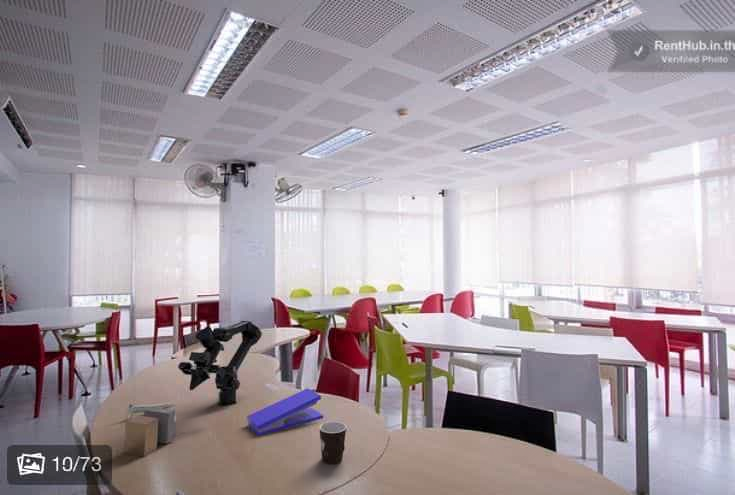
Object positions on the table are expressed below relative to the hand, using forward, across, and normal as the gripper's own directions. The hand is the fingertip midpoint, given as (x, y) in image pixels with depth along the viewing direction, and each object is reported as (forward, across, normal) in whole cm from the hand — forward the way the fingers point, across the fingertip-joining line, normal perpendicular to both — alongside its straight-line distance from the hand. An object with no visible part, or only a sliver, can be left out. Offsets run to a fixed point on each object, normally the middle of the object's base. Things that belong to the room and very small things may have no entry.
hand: (190, 389), depth 145 cm
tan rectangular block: (+21, 0, -3) cm, 21 cm away
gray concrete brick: (+20, 0, -2) cm, 20 cm away
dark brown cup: (+17, +62, +1) cm, 64 cm away
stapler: (+1, +34, +19) cm, 39 cm away
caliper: (+6, -22, +13) cm, 27 cm away
